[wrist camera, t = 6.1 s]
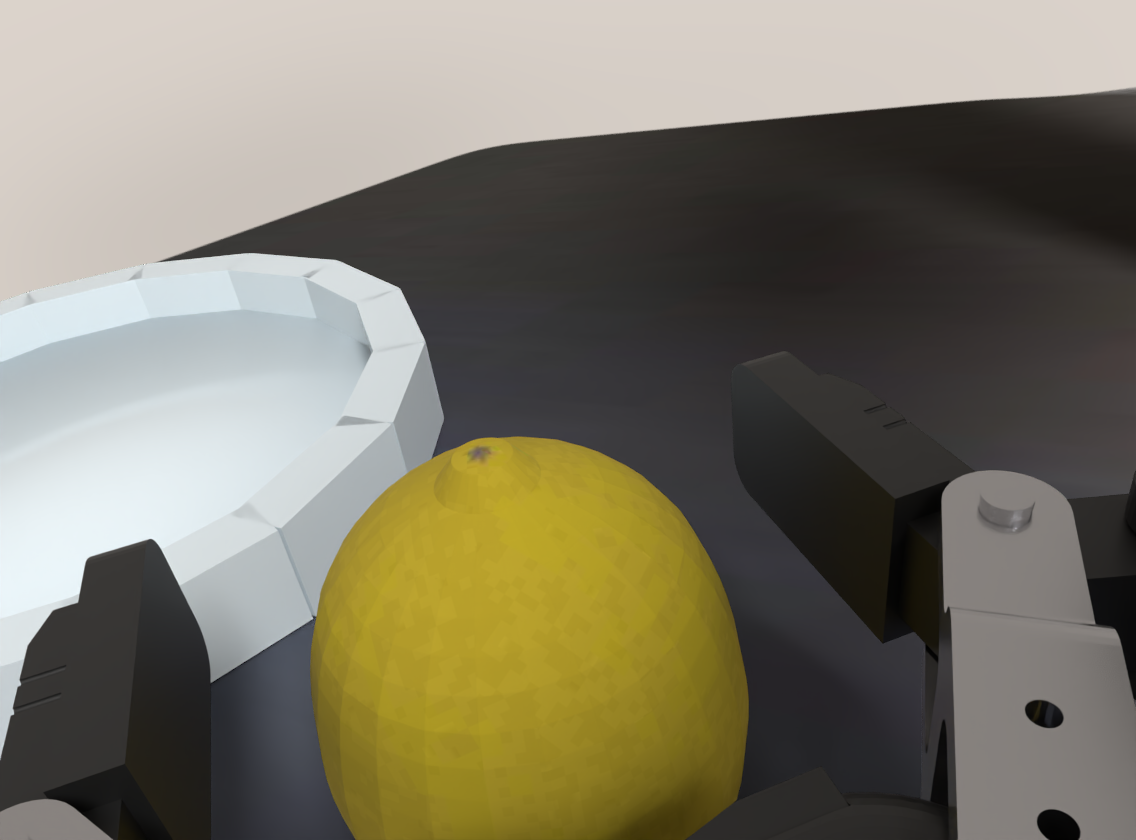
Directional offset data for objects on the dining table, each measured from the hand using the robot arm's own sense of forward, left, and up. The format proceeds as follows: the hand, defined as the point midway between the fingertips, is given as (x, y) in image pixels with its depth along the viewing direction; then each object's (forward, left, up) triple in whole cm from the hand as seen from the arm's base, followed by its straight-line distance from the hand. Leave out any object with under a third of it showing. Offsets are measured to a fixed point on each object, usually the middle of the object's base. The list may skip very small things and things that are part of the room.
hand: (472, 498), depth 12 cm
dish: (+9, -14, -6) cm, 18 cm away
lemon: (0, +2, -6) cm, 6 cm away
